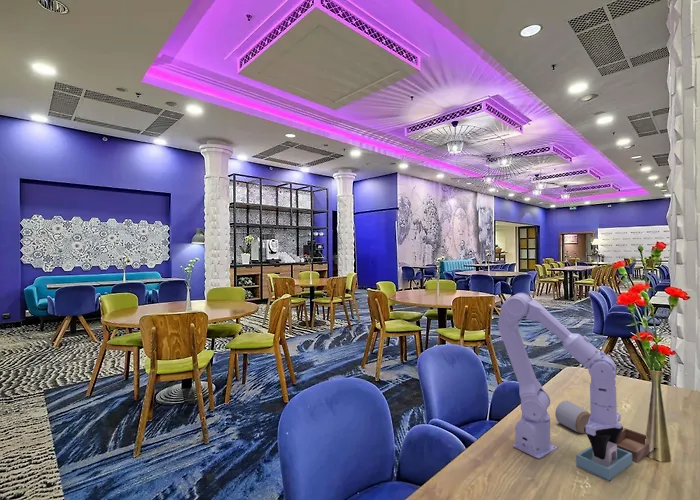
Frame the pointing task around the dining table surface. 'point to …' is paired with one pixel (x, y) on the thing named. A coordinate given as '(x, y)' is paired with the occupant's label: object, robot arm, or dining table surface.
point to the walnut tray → (633, 444)
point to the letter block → (608, 455)
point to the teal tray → (607, 473)
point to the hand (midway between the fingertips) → (604, 454)
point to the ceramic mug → (572, 416)
